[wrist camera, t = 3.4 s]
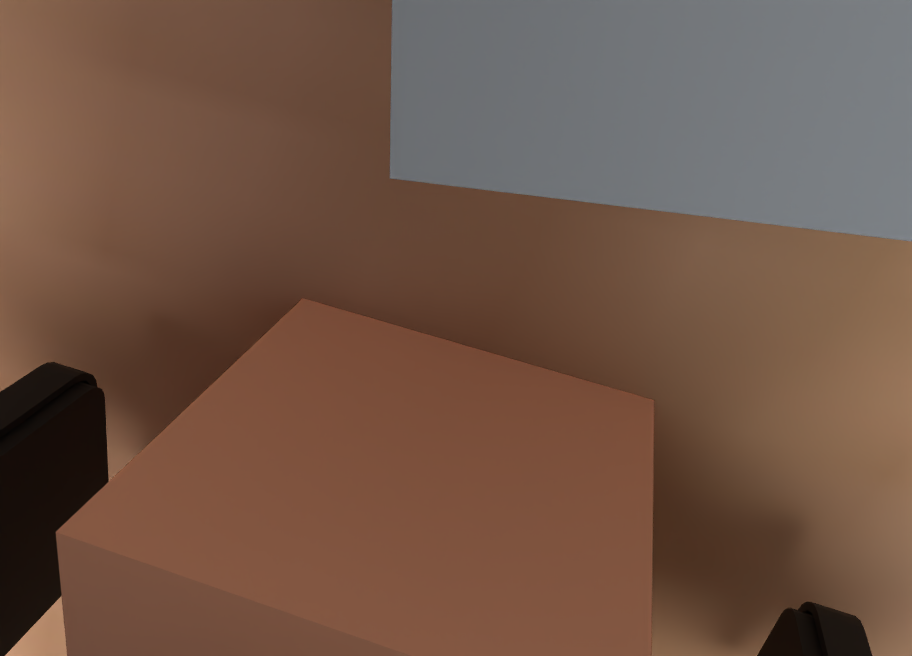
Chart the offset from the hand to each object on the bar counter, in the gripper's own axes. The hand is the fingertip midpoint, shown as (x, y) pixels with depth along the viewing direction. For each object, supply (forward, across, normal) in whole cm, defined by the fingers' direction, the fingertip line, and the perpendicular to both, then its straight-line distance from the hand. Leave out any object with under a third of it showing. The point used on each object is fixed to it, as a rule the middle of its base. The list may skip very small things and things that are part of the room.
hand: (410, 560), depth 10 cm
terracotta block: (+2, 0, 0) cm, 2 cm away
